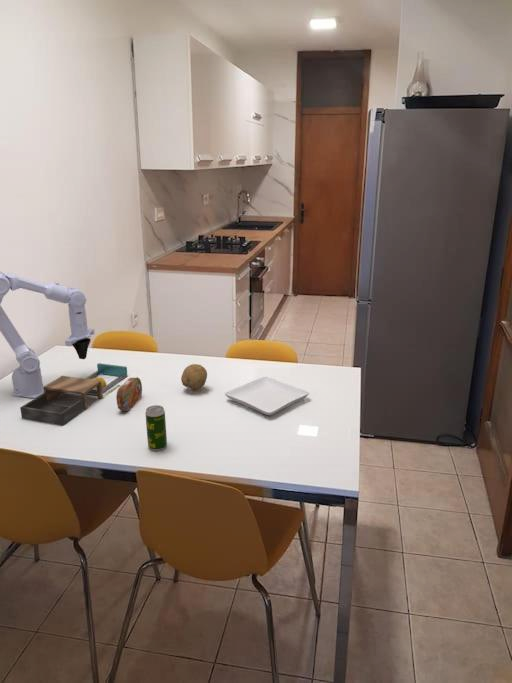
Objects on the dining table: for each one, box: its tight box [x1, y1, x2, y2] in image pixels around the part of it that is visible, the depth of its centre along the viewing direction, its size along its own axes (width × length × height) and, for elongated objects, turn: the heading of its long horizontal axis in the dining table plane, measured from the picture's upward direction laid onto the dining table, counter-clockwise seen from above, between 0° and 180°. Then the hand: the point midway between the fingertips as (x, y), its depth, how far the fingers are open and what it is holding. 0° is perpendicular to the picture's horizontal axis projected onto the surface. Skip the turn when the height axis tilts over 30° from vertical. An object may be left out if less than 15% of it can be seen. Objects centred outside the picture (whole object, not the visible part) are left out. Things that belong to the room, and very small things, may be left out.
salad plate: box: [224, 376, 310, 416], centre depth 181 cm, size 21×21×3 cm
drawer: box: [84, 362, 128, 396], centre depth 195 cm, size 12×19×4 cm, turn 162°
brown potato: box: [180, 363, 208, 392], centre depth 188 cm, size 9×9×10 cm
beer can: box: [144, 404, 168, 452], centre depth 151 cm, size 5×5×12 cm
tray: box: [19, 375, 121, 426], centre depth 181 cm, size 16×32×6 cm, turn 162°
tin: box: [115, 376, 143, 412], centre depth 178 cm, size 15×3×8 cm, turn 168°
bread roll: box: [89, 377, 107, 389], centre depth 192 cm, size 8×9×4 cm
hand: (82, 358), depth 194 cm, fingers closed
